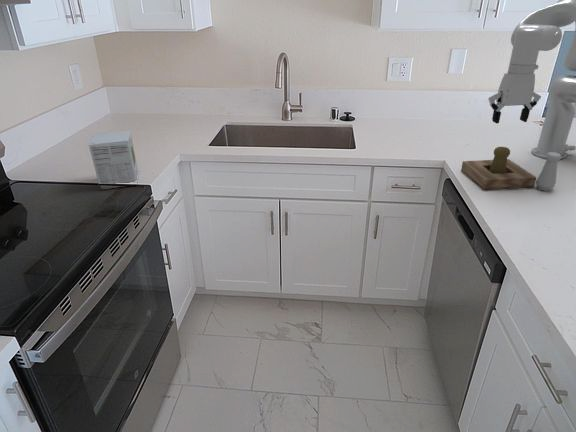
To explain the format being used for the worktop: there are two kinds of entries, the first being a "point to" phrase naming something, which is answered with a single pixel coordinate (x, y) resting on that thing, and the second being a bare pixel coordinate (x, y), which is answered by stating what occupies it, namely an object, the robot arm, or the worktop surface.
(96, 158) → the supplement box
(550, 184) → the salt shaker
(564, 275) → the worktop surface
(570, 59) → the robot arm
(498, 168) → the olive pepper mill
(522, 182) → the walnut holder
